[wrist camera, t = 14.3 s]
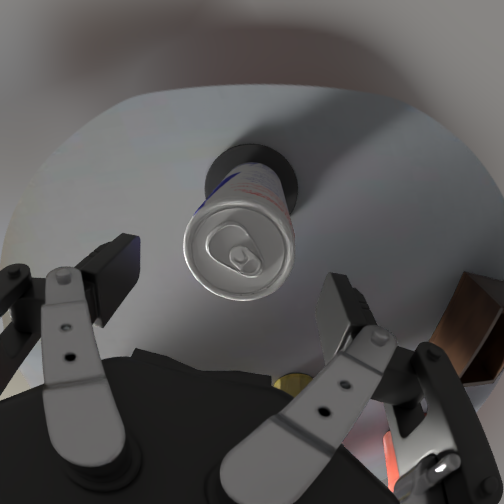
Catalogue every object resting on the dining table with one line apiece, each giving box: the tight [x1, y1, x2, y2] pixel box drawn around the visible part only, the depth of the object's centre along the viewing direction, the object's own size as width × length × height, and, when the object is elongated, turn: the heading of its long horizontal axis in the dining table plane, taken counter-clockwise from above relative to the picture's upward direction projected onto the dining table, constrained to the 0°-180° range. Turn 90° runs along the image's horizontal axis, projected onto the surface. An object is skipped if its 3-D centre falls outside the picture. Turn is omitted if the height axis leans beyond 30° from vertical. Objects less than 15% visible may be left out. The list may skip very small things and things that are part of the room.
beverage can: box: [183, 162, 295, 301], centre depth 21 cm, size 6×6×15 cm
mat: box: [205, 144, 298, 215], centre depth 28 cm, size 9×9×1 cm
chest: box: [429, 271, 504, 387], centre depth 29 cm, size 13×11×9 cm
